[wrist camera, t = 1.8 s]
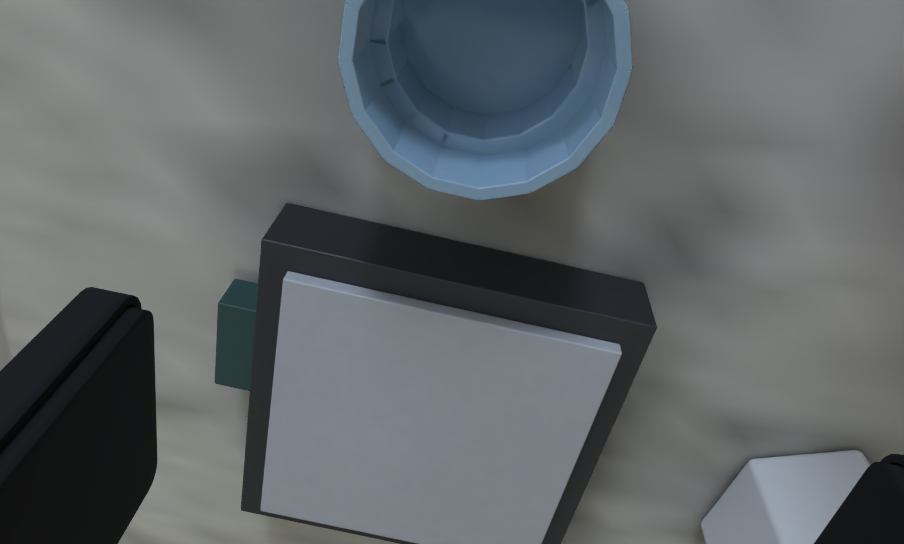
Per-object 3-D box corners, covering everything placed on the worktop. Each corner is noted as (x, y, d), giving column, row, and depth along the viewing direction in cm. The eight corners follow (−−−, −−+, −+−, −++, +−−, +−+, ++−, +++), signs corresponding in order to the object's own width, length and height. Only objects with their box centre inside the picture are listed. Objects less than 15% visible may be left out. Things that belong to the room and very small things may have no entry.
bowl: (396, -135, 21) (360, -133, 16) (640, -75, 21) (676, -56, 16) (361, 106, 24) (324, 166, 20) (568, 154, 25) (580, 224, 20)
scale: (244, 192, 26) (207, 236, 23) (644, 282, 27) (660, 337, 24) (228, 454, 34) (199, 514, 30) (545, 520, 34) (547, 586, 31)
